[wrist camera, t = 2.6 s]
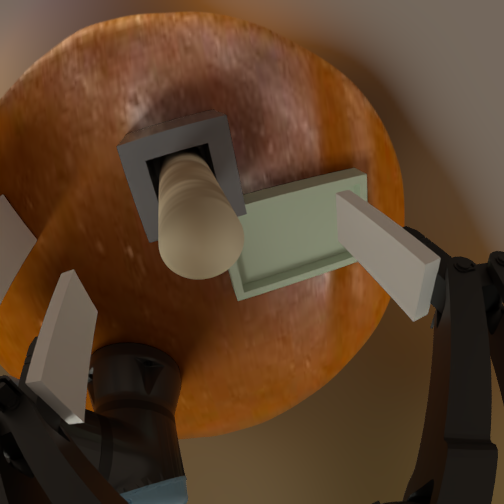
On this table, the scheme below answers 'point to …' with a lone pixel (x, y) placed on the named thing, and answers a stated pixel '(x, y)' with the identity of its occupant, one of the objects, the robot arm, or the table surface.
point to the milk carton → (12, 244)
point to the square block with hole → (172, 140)
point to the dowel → (195, 218)
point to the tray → (292, 232)
